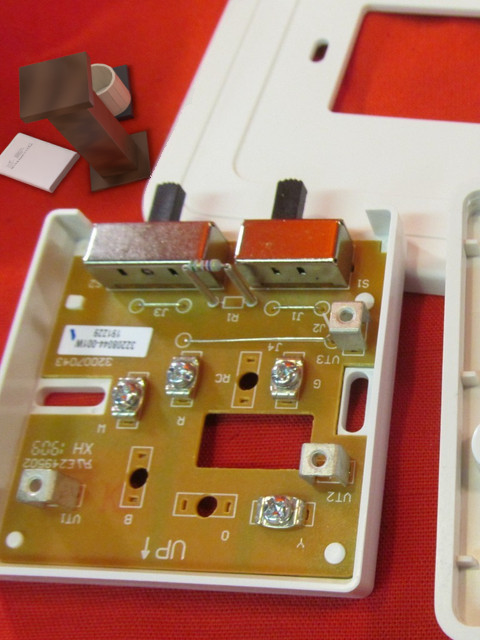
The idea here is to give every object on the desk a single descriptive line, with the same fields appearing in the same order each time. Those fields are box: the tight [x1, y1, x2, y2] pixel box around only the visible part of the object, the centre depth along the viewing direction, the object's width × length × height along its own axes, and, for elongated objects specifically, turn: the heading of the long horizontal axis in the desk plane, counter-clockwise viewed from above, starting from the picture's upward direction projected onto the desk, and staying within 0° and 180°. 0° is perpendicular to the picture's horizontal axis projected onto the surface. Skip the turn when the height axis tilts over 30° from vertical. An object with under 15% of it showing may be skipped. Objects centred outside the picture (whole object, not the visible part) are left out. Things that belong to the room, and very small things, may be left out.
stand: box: [18, 50, 153, 193], centre depth 108 cm, size 10×10×18 cm
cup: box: [91, 63, 131, 117], centre depth 118 cm, size 7×7×5 cm
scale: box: [111, 64, 135, 123], centre depth 121 cm, size 11×13×3 cm
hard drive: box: [0, 132, 81, 194], centre depth 117 cm, size 2×8×12 cm
